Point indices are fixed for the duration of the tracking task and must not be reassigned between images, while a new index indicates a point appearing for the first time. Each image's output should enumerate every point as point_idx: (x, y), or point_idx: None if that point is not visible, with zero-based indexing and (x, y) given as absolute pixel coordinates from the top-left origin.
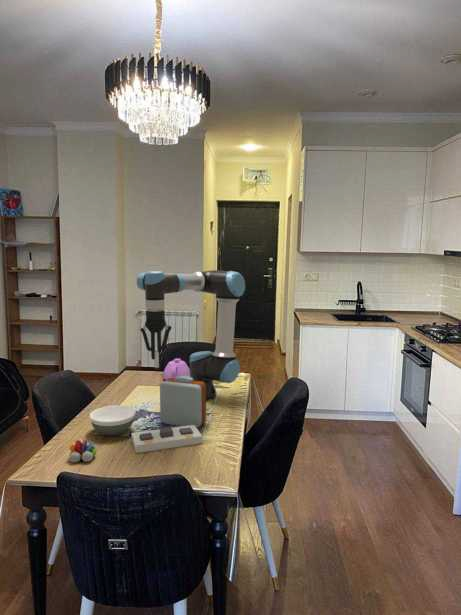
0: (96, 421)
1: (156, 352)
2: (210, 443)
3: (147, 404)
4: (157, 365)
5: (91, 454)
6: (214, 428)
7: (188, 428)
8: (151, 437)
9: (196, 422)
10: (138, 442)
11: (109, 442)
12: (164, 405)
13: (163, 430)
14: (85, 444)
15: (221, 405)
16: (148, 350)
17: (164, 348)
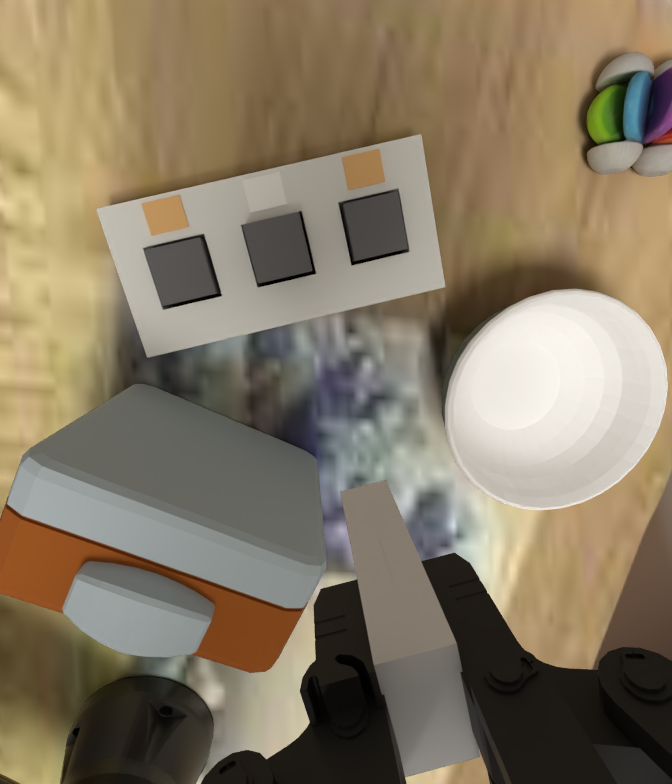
0: (634, 312)
1: (419, 644)
2: (71, 209)
3: None
4: (361, 500)
5: (615, 65)
6: (62, 379)
7: (169, 291)
8: (350, 203)
9: (138, 389)
10: (409, 170)
11: (525, 275)
12: (296, 482)
13: (293, 241)
14: (669, 81)
15: (45, 632)
16: (638, 651)
17: (224, 778)
